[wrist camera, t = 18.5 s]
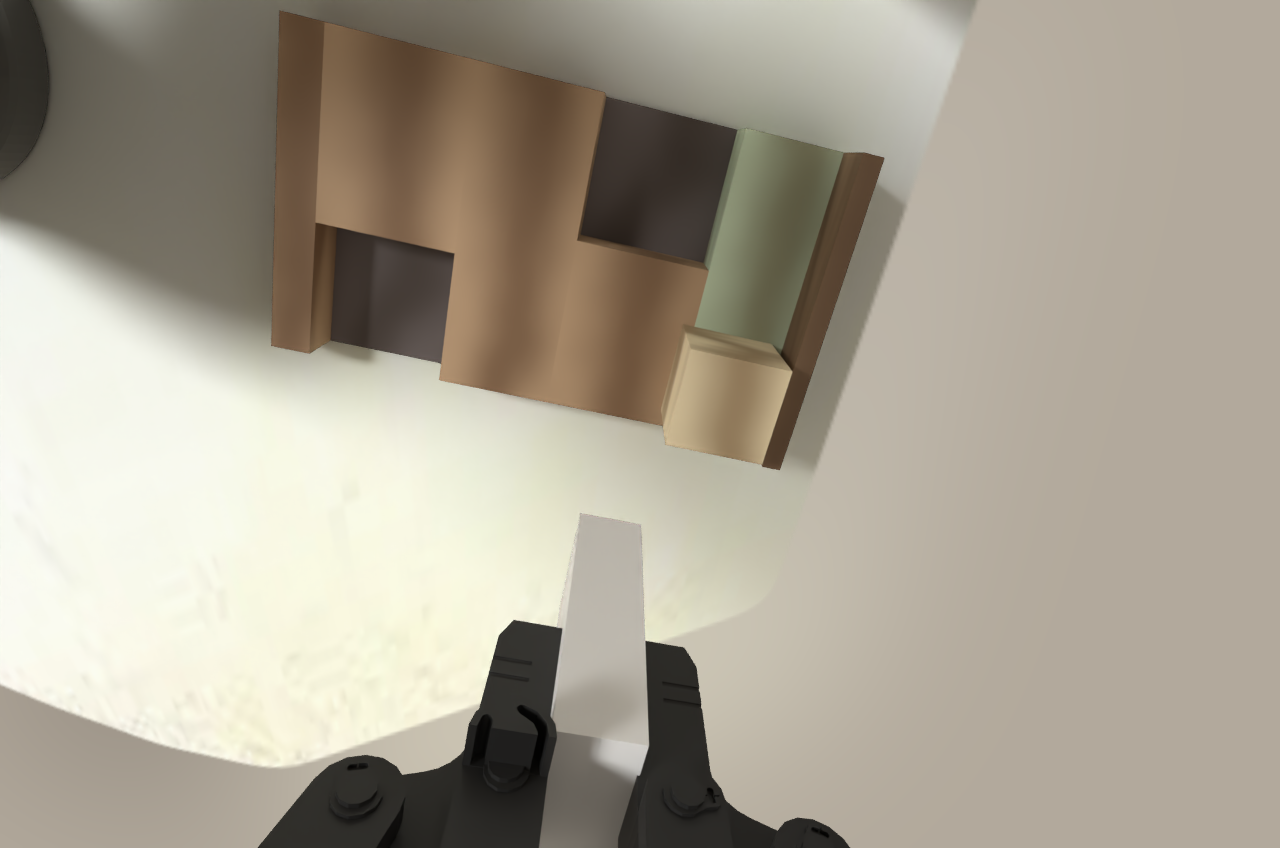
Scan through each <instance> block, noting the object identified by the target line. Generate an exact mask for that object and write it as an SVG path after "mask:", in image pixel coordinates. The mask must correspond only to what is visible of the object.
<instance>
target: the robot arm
mask: <svg viewBox="0 0 1280 848" xmlns="http://www.w3.org/2000/svg"><path fill="white" fill-rule="evenodd" d="M47 100H48V68H47V60H46V54H45V48H44V44H43V40H42V36H41V32H40V29H39V26H38V23H37V19H36V17H35V14H34V12H33V9H32V6H31V4H30V2H29V0H0V180H1V179H2V178H4V177H5V176H7V175H8V174H9V173H11V172H12V171H13V170H14V169H15V168H16V167H17V166H18V165H19V164H20V163H21V162H22V161H23V160H24V159H25V157H26V156H27V155H28V154H29V152H30V151H31V149H32V147H33V146H34V144H35V142H36V140H37V138H38V136H39V133H40V131H41V128H42V125H43V121H44V118H45V113H46V108H47ZM258 848H850V847H849V846H848V844H847V843H846V842H845V840H844V839H843V838H842V837H841V836H839V835H838V834H837V833H836V832H834V831H833V830H832V829H831V828H830V827H828V826H826V825H824V824H822V823H820V822H817V821H815V820H813V819H804V818H795V819H792V820H789V821H786V822H784V824H783V825H782V826H781V827H780V828H779V830H778V831H777V830H775V829H772V828H770V827H768V826H766V825H764V824H762V823H760V822H758V821H755V820H753V819H751V818H749V817H747V816H746V815H744V814H742V813H740V812H739V811H737V810H736V809H735V808H734V807H732V806H731V805H730V804H729V803H728V802H727V801H726V800H725V798H724V795H723V792H722V790H721V788H720V787H719V786H718V784H717V783H716V782H715V780H714V779H713V778H712V775H711V772H710V766H709V758H708V751H707V743H706V736H705V729H704V722H703V713H702V709H701V698H700V692H699V683H698V677H697V668H696V666H695V664H694V663H693V661H692V659H691V658H690V656H689V654H688V653H687V651H686V650H685V649H684V648H683V647H678V646H671V645H666V644H660V643H654V642H649V641H645V619H644V591H643V563H642V535H641V525H640V524H635V523H630V522H625V521H619V520H614V519H609V518H603V517H598V516H593V515H588V514H582V513H580V517H579V522H578V526H577V531H576V535H575V540H574V545H573V549H572V554H571V558H570V563H569V567H568V572H567V576H566V581H565V585H564V590H563V595H562V599H561V604H560V610H559V616H558V623H557V627H551V626H546V625H540V624H534V623H528V622H522V621H516V620H513V621H512V622H511V624H510V625H509V626H508V627H507V628H506V629H505V630H504V631H503V632H502V633H501V634H500V635H499V637H498V641H497V645H496V648H495V652H494V656H493V660H492V663H491V667H490V671H489V675H488V678H487V682H486V686H485V689H484V693H483V697H482V701H481V704H480V708H479V710H477V711H476V712H475V714H474V716H473V718H472V720H471V722H470V723H469V727H468V732H467V739H466V744H465V749H464V751H463V752H462V753H461V755H459V756H458V757H457V758H455V759H454V760H453V761H452V762H451V763H448V764H446V765H444V766H442V767H440V768H438V769H434V770H430V771H425V772H419V773H412V774H406V775H402V774H401V773H400V771H399V770H398V768H397V767H396V766H395V765H393V764H392V763H390V762H389V761H387V760H385V759H384V758H380V757H374V756H368V755H362V756H355V757H347V758H345V759H343V760H341V761H339V762H336V763H334V764H332V765H329V766H328V767H327V768H326V769H325V770H324V771H322V772H321V773H320V774H319V775H318V776H317V777H316V778H315V779H314V780H313V781H312V782H311V783H310V785H309V786H308V787H307V788H306V789H305V791H304V792H303V793H302V794H301V796H300V797H299V798H298V799H297V800H296V802H295V803H294V804H293V805H292V807H291V808H290V809H289V810H288V811H287V813H286V814H285V815H284V816H283V818H282V819H281V820H280V821H279V822H278V824H277V825H276V826H275V827H274V828H273V830H272V831H271V832H270V833H269V835H268V836H267V837H266V838H265V839H264V841H263V842H262V843H261V844H260V845H259V847H258Z"/></svg>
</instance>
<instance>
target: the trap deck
mask: <svg viewBox="0 0 1280 848" xmlns="http://www.w3.org/2000/svg"><path fill="white" fill-rule="evenodd" d="M883 161H884V158H883V157H879V156H875V155H871V154H867V153H843V152H839V151H835V150H831V149H827V148H823V147H819V146H815V145H811V144H807V143H804V142H800V141H796V140H792V139H788V138H784V137H780V136H776V135H772V134H768V133H764V132H760V131H756V130H752V129H748V128H744V129H740V130H736V129H732V128H728V127H724V126H720V125H716V124H712V123H708V122H704V121H700V120H696V119H692V118H688V117H684V116H680V115H676V114H672V113H668V112H664V111H660V110H656V109H652V108H648V107H644V106H640V105H636V104H632V103H628V102H624V101H620V100H616V99H612V98H608V97H606V95H605V92H601V91H597V90H593V89H589V88H585V87H581V86H577V85H573V84H569V83H565V82H562V81H558V80H554V79H550V78H546V77H542V76H538V75H534V74H530V73H526V72H522V71H518V70H514V69H510V68H506V67H502V66H498V65H494V64H490V63H486V62H482V61H478V60H474V59H470V58H466V57H462V56H458V55H454V54H450V53H446V52H442V51H439V50H435V49H431V48H427V47H423V46H419V45H415V44H411V43H407V42H403V41H399V40H395V39H391V38H387V37H383V36H379V35H375V34H371V33H367V32H363V31H359V30H355V29H351V28H347V27H343V26H339V25H335V24H331V23H327V22H323V21H319V20H316V19H312V18H308V17H304V16H300V15H296V14H292V13H288V12H284V11H280V12H279V53H278V93H277V134H276V174H275V215H274V256H273V296H272V337H271V346H275V347H280V348H284V349H289V350H294V351H299V352H304V353H311V352H313V351H314V350H316V349H317V348H319V347H321V346H322V345H324V344H325V343H327V342H329V341H330V340H332V341H337V342H341V343H346V344H351V345H356V346H361V347H366V348H370V349H375V350H380V351H385V352H390V353H395V354H399V355H404V356H409V357H414V358H419V359H424V360H428V361H433V362H438V363H441V370H440V378H439V380H441V381H446V382H451V383H456V384H461V385H465V386H470V387H475V388H480V389H485V390H490V391H495V392H500V393H505V394H509V395H514V396H519V397H524V398H529V399H534V400H539V401H544V402H549V403H553V404H558V405H563V406H568V407H573V408H578V409H583V410H588V411H593V412H597V413H602V414H607V415H612V416H617V417H622V418H627V419H632V420H637V421H642V422H646V423H651V424H656V425H661V426H663V422H662V414H661V407H662V403H663V399H664V395H665V391H666V387H667V384H668V380H669V376H670V372H671V368H672V364H673V360H674V357H675V353H676V349H677V345H678V341H679V337H680V333H681V329H682V326H683V324H685V325H689V326H693V327H698V328H702V329H707V330H711V331H716V332H720V333H725V334H729V335H733V336H738V337H742V338H747V339H751V340H756V341H760V342H765V343H769V344H772V345H773V346H774V348H775V349H776V350H777V352H778V353H779V354H780V356H781V357H782V358H783V360H784V361H785V362H786V364H787V365H788V366H789V368H790V369H791V370H792V375H791V378H790V381H789V384H788V387H787V390H786V393H785V396H784V400H783V403H782V406H781V409H780V412H779V415H778V418H777V421H776V424H775V427H774V430H773V433H772V436H771V439H770V442H769V445H768V448H767V451H766V454H765V457H764V460H763V463H762V467H766V468H771V469H776V470H780V468H781V465H782V462H783V459H784V456H785V453H786V450H787V447H788V444H789V441H790V438H791V435H792V432H793V429H794V426H795V423H796V420H797V417H798V414H799V411H800V409H801V406H802V403H803V400H804V397H805V394H806V391H807V388H808V385H809V382H810V379H811V376H812V373H813V370H814V367H815V364H816V361H817V358H818V355H819V352H820V349H821V346H822V343H823V340H824V337H825V334H826V331H827V328H828V325H829V322H830V319H831V316H832V313H833V310H834V307H835V304H836V301H837V298H838V295H839V292H840V289H841V286H842V283H843V280H844V277H845V274H846V271H847V268H848V265H849V263H850V260H851V257H852V254H853V251H854V248H855V245H856V242H857V239H858V236H859V233H860V230H861V227H862V224H863V221H864V218H865V215H866V212H867V209H868V206H869V203H870V200H871V197H872V194H873V191H874V188H875V185H876V182H877V179H878V176H879V173H880V170H881V167H882V164H883Z"/></svg>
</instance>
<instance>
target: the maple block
mask: <svg viewBox="0 0 1280 848" xmlns="http://www.w3.org/2000/svg"><path fill="white" fill-rule="evenodd" d="M791 375H792V370H791V369H790V368H789V366H788V365H787V364H786V362H785V361H784V360H783V358H782V357H781V356H780V354H779V353H778V352H777V350H776V349H775V348H774V346H773V345H772V344H769V343H765V342H760V341H756V340H751V339H747V338H742V337H738V336H733V335H729V334H725V333H720V332H716V331H711V330H707V329H702V328H698V327H693V326H689V325H685V324H683V326H682V329H681V333H680V337H679V341H678V345H677V349H676V353H675V357H674V360H673V364H672V368H671V372H670V376H669V380H668V384H667V387H666V391H665V395H664V399H663V403H662V407H661V414H662V422H663V429H664V437H665V445H669V446H674V447H679V448H684V449H689V450H693V451H698V452H703V453H708V454H713V455H718V456H723V457H727V458H732V459H737V460H742V461H747V462H752V463H757V464H761V465H762V463H763V460H764V457H765V454H766V451H767V448H768V445H769V442H770V439H771V436H772V433H773V430H774V427H775V424H776V421H777V418H778V415H779V412H780V409H781V406H782V403H783V400H784V396H785V393H786V390H787V387H788V384H789V381H790V378H791Z"/></svg>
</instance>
